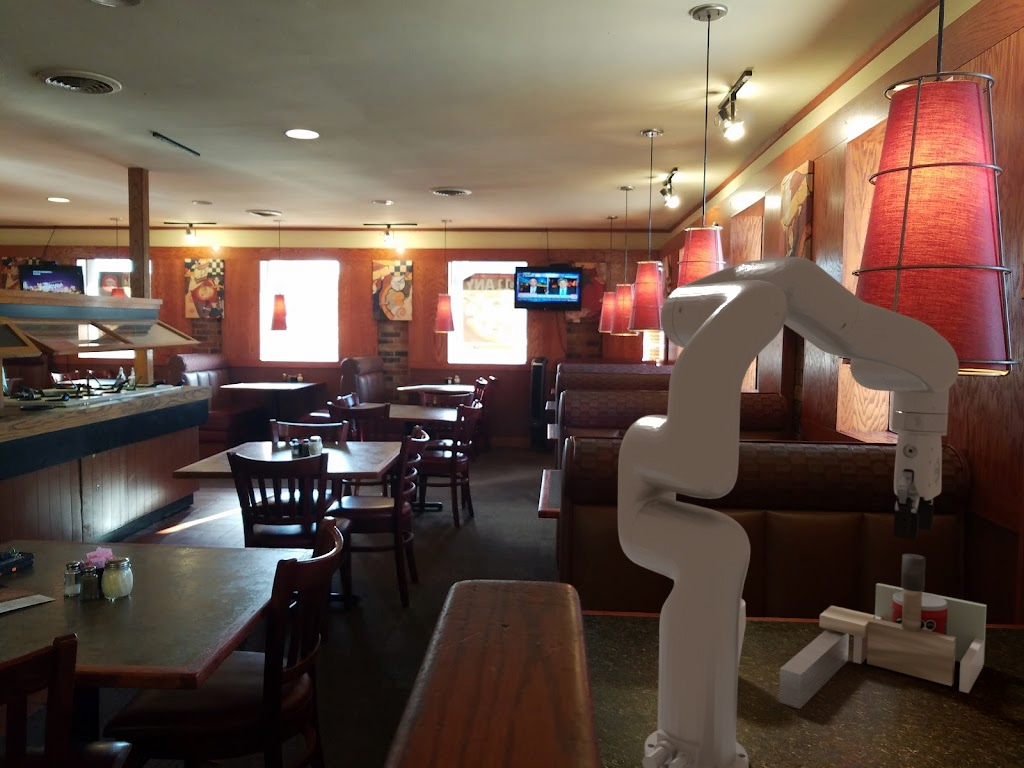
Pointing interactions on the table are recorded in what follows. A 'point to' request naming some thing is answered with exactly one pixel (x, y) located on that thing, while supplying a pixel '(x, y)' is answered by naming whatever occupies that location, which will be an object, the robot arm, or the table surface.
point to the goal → (961, 623)
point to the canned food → (925, 612)
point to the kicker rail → (812, 667)
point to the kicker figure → (901, 632)
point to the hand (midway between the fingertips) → (913, 533)
